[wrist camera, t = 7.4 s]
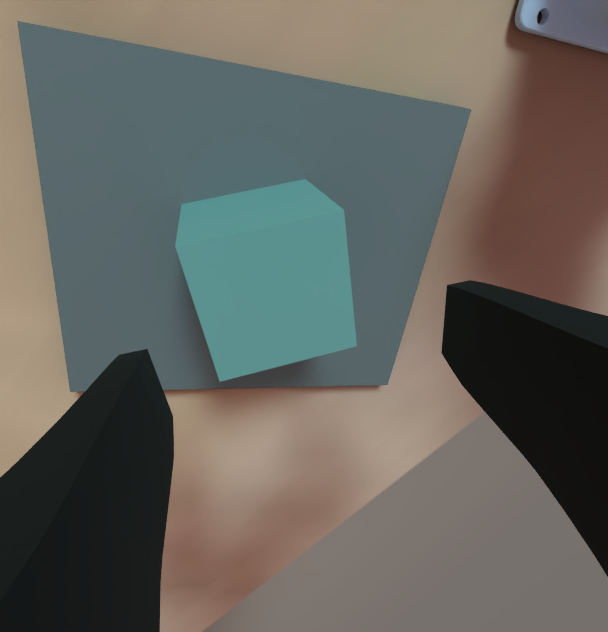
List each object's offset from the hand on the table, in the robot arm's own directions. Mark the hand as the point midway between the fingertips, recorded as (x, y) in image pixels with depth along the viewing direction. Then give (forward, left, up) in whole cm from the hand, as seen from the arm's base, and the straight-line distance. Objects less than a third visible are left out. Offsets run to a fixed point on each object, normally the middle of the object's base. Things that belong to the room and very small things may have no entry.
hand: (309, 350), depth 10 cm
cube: (0, +1, -9) cm, 9 cm away
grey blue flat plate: (0, +1, -9) cm, 9 cm away
